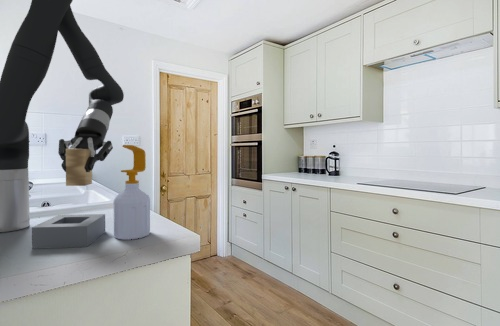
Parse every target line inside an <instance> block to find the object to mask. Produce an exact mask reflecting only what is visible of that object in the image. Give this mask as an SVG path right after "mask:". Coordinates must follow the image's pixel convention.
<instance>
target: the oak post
mask: <svg viewBox="0 0 500 326" xmlns="http://www.w3.org/2000/svg"><path fill="white" fill-rule="evenodd" d="M90 151H91V150H90V149H70V148H69V149H66V172H65V186H67V187H69V186H70V187H75V186H76V187H79V186H80V187H81V186H82V187H83V186H84V187H85V186H89V185H91V184H93V169H92V170H90V172H86V170H85V168H84V167H85V165H86V162H87V160H88V157H90Z"/></svg>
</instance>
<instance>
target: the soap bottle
mask: <svg viewBox="0 0 500 326" xmlns="http://www.w3.org/2000/svg"><path fill="white" fill-rule="evenodd" d="M121 146H122V147H123V148H125V149H127V150H129V151H131V152H132V154H133V167H132V169H123V170H120V172H121V173H126V176H128V180H125V186H124V188H125V189H124V190H123V191H121V192H119V193H118V194H117V195H116V196H114V200H113V236H114V238H115V239H118V240H124V241H125V240H126V241H128V240H129V241H132V240H137V239H138V238H139V239H142V238H145V237H147V236H148V235H150V232H151V198H150V196H149V194H147V193H146V192H145V191H142V190H141V189H140V188H139V187H140V185H139V184H140V183H139V181H140V180H138V179H137V180H136V176H138V173H142V172H144V171H145V170H146V168H147V167H146V166H147V165H146V162H147V161H146V151H145V149H143V148H141V147H138V146H136V145H132V144H122V145H121ZM131 239H132V240H131Z"/></svg>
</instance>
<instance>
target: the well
mask: <svg viewBox="0 0 500 326" xmlns="http://www.w3.org/2000/svg"><path fill="white" fill-rule="evenodd" d="M105 232H106V214H105V213H96V214H95V213H93V214H92V213H91V214H89V213H88V214H58V215H56V216H53V217H52V218H49V219H46V220H44V221H43V222H42V221H41V222H40V223H38V224H35V225H33V226H31V249H34V250H35V249H53V248H55V249H58V248H59V249H60V248H84V247H85V248H86V247H87V248H88V247H89V246H90V245H91V244H92V243H93V242H95V241H96V240H98V238H100V237H101V236H102V235H103V234H105Z"/></svg>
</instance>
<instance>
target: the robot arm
mask: <svg viewBox="0 0 500 326" xmlns="http://www.w3.org/2000/svg"><path fill="white" fill-rule="evenodd" d="M72 2H73V0H31V3H30V6H29V9H28V12H27V14H26V15H25V17H24V19H23V21H22V22H21V25H20V26H19V28H18V30H17V32H16V34H15V36H14V38H13V41H12V43H11V45H10V47H9V51H8V53H7V57H6V60H5V63H4V65H3V70H2V72H1V76H0V233H7V232H13V231H19V230H22V229H26V228H28V227H29V226H31V224H30V223H31V222H30V221H31V218H30V186H29V185H30V184H29V181H30V179H29V178H30V177H29V159H30V131H29V124H28V123H27V122H26V118H27V114H28V110H29V106H30V103H31V101H32V98H33V96H34V95H35V93H36V92H37V91H38V89H39V88H40V86H41V85H42V83H43V81H45V80H44V79H45V78H46V75H47V74H48V71H49V67H50V65H51V63H52V59H53V55H54V52H55V48H56V43H57V38H58V34H60V35H61V37H62V38H63V40H64V42H65V43H66V45H67V47H68V49H69V51H70V53H71V55H72V57H73V59H74V61H75V62H76V64H77V66H78V68H79V69H80V71H81V73H82V75H83V77H84V78H85V79H86V80H87V81H94V80H96V81H97V80H98V81H99V82H100V83H101V84H102V85H98V86H97V87H94V88H92V89H91V90H90V91H89V92H88V107H87V109H86V111H85V113H84V114H83V115H82V117H81V119H80V122H79V124H78V126H77V128H76V130H75V133H74V136H73V137H71V139H70V140H65V139H63V138H61V139H59V140H58V156H60V157H59V158H60V159H61V161H62V163H61V168H62V170H63V171H64V172H65V173H66V149H90V150H91V151H90V157H88V160H87V162H86V165H85V167H84V168H85V170H86V172H90V170H92V171H93V170H94V166H95V164H96V163H97V162H99V161H100V162H103V161H105V159H106V158H107V157H108V155H109V154H110V152H112V150H113V149H114V148H113V143H112V141H111V140H107V141H105V139H106V136H107V133H108V131H109V127H110V122H111V119H112V116H113V113H114V107H113V106H114V105H117V104H120V103H121V102H123V101H124V95H125V93H124V91H123V89H122V87H121V86H120V84H119V83H118V82H117V81H116V80H115V78H114V77H113V76H112V75H111V74H110V73H109V71H108V70H107V69H106V67H105V65H104V63H103V62H102V59H101V58H100V56H99V54H98V52H97V50H96V48H95V47H94V45H93V44H92V42H91V41H90V40H89V39H88V37H87V36H86V35H85V33H84V32H83V30H82V29H81V28H80V26H79V24H78V22H77V20H76V17H75V15H74V12H73V10H72V7H71V4H72ZM98 150H99V151H98ZM97 151H98V152H97Z"/></svg>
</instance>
